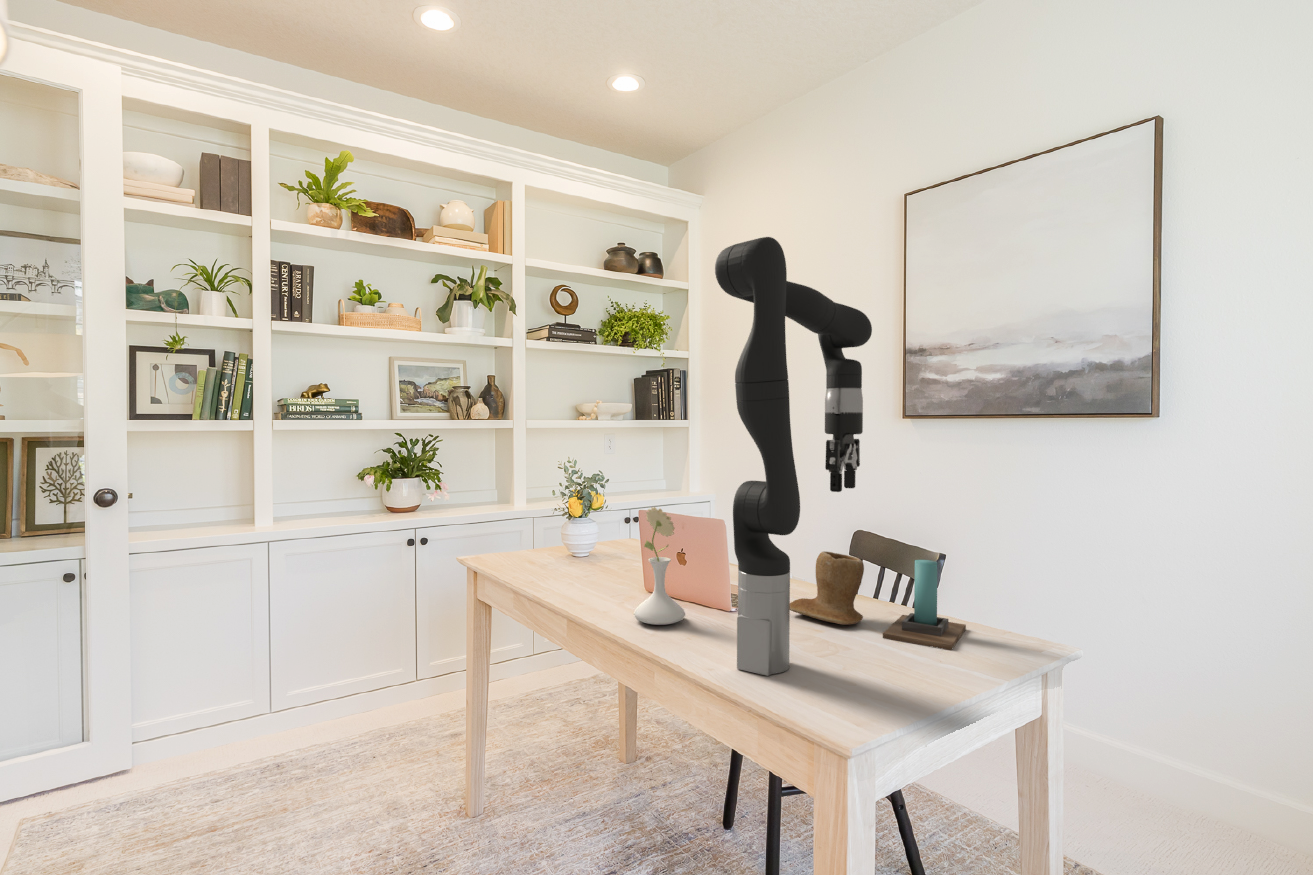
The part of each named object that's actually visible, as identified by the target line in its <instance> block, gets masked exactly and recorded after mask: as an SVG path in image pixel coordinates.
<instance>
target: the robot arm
mask: <svg viewBox="0 0 1313 875" xmlns="http://www.w3.org/2000/svg"><path fill="white" fill-rule="evenodd" d="M786 262H787V261H786V257H785V253H784V250H783V247H782V245H781V243H780V242H779V241H778V240H777V239H775V238H774V237H772V236H763V237H759V238H754V239H751V240H746V241H743V242H740V243H735V244H732V245H729V246H727V247H725V248H723V250H721V252H720V253H718V255H717V257H716V260H715V263H714V273H715V278H716V281H717V283H718V285H719V287H720V288H721V289H722V290H723V291H724V292H725V294H728V295H729V296H731V297H733V298H736V299H740V300H742V301H746V302H750V303H753V320H752V325H751V329H750V332H749V335H748V338H747V340H746V342H745V345H744V347H743V349H742V351H741V354H740V355H739V359H738V361H737V364H736V368H735V371H734V382H735V385H734V386H735V398H736V400H735V401H736V409H737V411H738V412H737V413H738V415H739V418H740V419H741V421H742V423H743V424H742V425H744V427H745V429H746V430H747V432H748V434H749V436H750V438H752V440H753V442H754V443H755V445H756V447H757V449H758V451H759V452H760V455H761V458H762V459H761V460H762V463H763V466H764V468H763V469H764V474H765V475H764V476H765V481H764V480H746V481H743V483H741V484H740V485H739V486H738V488H737V490H736V492H735V494H734V498H733V502H732V503H733V504H732V505H733V506H732V522H733V524H732V525H733V526H732V527H733V547H734V553H735V557H736V559H737V566H738V567H737V569H738V570H737V574H738V575H737V579H738V580H737V581H738V582H737V584H738V585H737V617H736V669H737V670H741V671H745V672H750V673H755V674H758V675H762V676H766V677H770V676H771V675H775V674H780V673H784V672H786V671H787V670H789V668H790V635H791V634H790V631H791V630H790V629H791V628H790V627H791V626H790V624H791V622H790V621H791V620H790V616H791V613H790V612H791V610H790V603H791V602H790V600H791V599H790V598H791V593H790V592H791V560H790V556H789V555H788V554H787V553H786V552H785V551H783V550H781V549H780V548H778V547H777V546H776V544H774V542H772V540H771V538H770V535H777V536H788V535H790V534H792V533H793V532H794V531H795V530H796V528H797V526H798V525H799V524H798V523H799V521H800V516H801V498H800V490H799V483H798V477H797V469H796V464H795V458H794V450H793V441H792V440H793V439H792V438H793V437H792V427H791V426H792V425H791V409H790V406H791V405H790V403H791V402H790V386H789V382H790V381H789V373H788V361H787V345H786V344H787V341H786V339H787V338H786V318H788V319H790V320H791V321H793V322H795V323H797V324H798V325H800V326H802V327H804V328H805V329H807V330H809V331H810V332H812V333H814V334H815V335H816V334H817V337H818V343H819V346H820V350H821V352H822V357H823V361H824V365H825V370H826V375H825V378H826V379H825V380H826V382H825V385H826V391H825V398H824V433H825V434H827V435H832V439H827V440H826V442H825V464H824V465H825V467H824V468H825V470H826V471H828V473H829V474H830V477H829V479H830V480H829V482H830V483H829V489H830V491H831V492H832V493H835V492H836V493H841V492H842V491H843V488H845V489H855V488H856V473H857V472H856V471H857V470H858V468H859V467H860V465H861V459H860V458H861V457H860V454H861V451H860V446H861V444H860V443H861V440H860V439H859V438H854V436H855V435H861V434H863V431H864V430H863V428H864V427H863V426H864V423H863V422H864V420H863V419H864V404H863V403H864V400H863V398H864V397H863V389H862V386H863V384H862V383H863V376H862V375H863V372H862V371H863V368H862V363H861V362H860V361H859V360H856V359H851V358H846V357H845V355H844V353H843V349H849V348H858V347H862V346H864V345H865V344H867V342H868V341H870V339H871V336H872V333H873V327H872V323H871V321H870V319H869V317H868V316H867V315H866V314H865V313H864V312H863V311H862V310H859V309H857V308H855V307H852V306H849V305H845V304H842V303H838V302H835V301H833V300H832V299H831V298H829V297H828V296H826V295H825V294H823V293H822V292H820V291H819V290H817V289H815V288H813V287H810V286H807V285H803V284H800V283H797V282H793V281H789V280H787V275H788V274H787V263H786ZM843 470H844V471H843Z"/></svg>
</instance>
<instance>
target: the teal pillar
mask: <svg viewBox="0 0 1313 875" xmlns="http://www.w3.org/2000/svg"><path fill="white" fill-rule="evenodd" d="M913 583H914V589H913V590H914V593H913V594H914V595H913V596H914V598H913V599H914V600H913V601H914V602H913V603H914V604H913V606H914V608H913V613H914V623H921V624H927V625H933V626H937V617H938V561H935V560H931V559H915V560H914V582H913Z"/></svg>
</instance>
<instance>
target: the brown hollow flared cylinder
mask: <svg viewBox="0 0 1313 875" xmlns="http://www.w3.org/2000/svg"><path fill="white" fill-rule="evenodd" d="M815 561H816V562H815V581H816V582H815V583H816V587H817V588H816V589H817V593H816V594H817V595H816V597H814V598H806V597H805V598H803V597H802V598H798V599H795V600H793V601H791V602H790V612H793V613H797V614H800V615H803V616H806V617H809V618H813V619H816V620H819V621H823V622H827V623H833V624H837V625H855V624H858V623H860V622H862V620H863V619H864V618H863V617H864V616H863V614H861V613H860V612H858V611H857V610H856V609H855V605H854V604H855V600H856V596H857V594H858V592H859V590H860V587H861V585H862V580H863V576H864V572H865V565H864V562H863V561H862V560H861V559H860V558H859V557H856V556H852V555H847V554H843V553H839V552H838V553H837V552H836V553H835V552H832V551H821V552H820V553H819V554H818V556H817V558H816V560H815Z"/></svg>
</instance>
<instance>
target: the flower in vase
mask: <svg viewBox="0 0 1313 875" xmlns="http://www.w3.org/2000/svg"><path fill="white" fill-rule="evenodd" d="M647 511H649V512H647ZM645 513H646V516H645V517H646V521H647V522H649V525H650V526H651V527H652V529H653V534H652V537H651V542H650V541H649V540H646V541H645V543H644V545H643V546H644V548H647V549H648V550H650V551H654V553H655V557H654V556H652V557H650V558H648V562H649V563H650V565H651V567H652V570H653V576H654V579H653V580H654V588H653V592H652V593H651V595H650V596H648V597H647V598H646V599H645V600H643V601H642V602H641V603H639V605H638V606H637V607H636V608H635V609H634V612H633V615H634V618H635V619H636V620H637V621H638V622H641V623H644V624H648V625H657V626H660V625H663V626H664V625H672V624H676V623H678V622H680V621H683V619H684V618H685V616H686V611H685V609H684V608H683V607H682V606H681V605H680V604H679V603H678V602H677V601H676V600H674V599H673V598H672V597H671V596H670V595H669V594H668V593H667V591H666V585H665V584H666V583H665V581H666V580H665V579H666V573H667V569H668V565H669V563H670V562H671V560H672V559H671V558H670V557H669V558H668V557H666V556H665V557H664V556H659V554H658V553H659V552H661V551H663V550H665V549H666V548H668V547H669V544H666V546H665V547H662V548H660V549H658V550H657V551H656V547H655V545H654V539H655V534H656V533H658V534H660V535H662V536H665V537H667V538H668V537H671V536H672V535H674V534H675V533H674V530H675V526H674V522H673V521H672V517H671V516H670V515H668V514H667V513H666V512H664V511H663V509H662V508H658V509H657V507H656V506H653V507H651V508H648V509H647V510H646V511H645Z"/></svg>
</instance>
